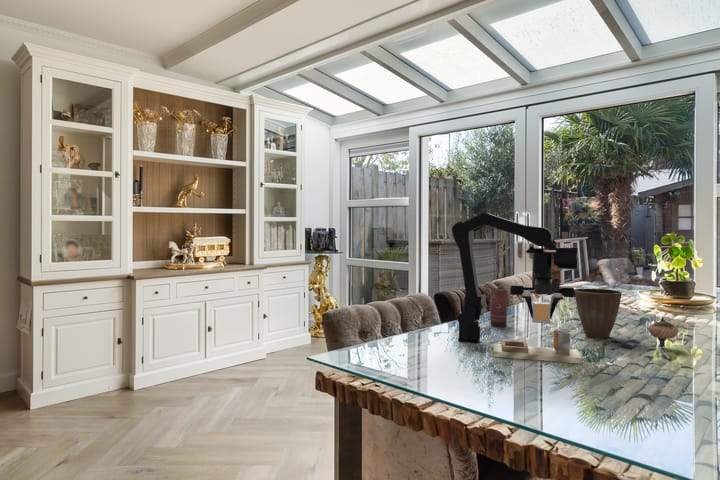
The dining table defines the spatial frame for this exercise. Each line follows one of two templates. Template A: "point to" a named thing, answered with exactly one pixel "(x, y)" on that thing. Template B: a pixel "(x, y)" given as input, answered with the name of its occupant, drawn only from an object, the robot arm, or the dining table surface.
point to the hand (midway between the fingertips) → (541, 318)
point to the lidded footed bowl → (663, 331)
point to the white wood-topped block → (541, 312)
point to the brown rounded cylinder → (498, 307)
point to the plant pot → (597, 310)
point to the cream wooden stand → (540, 350)
